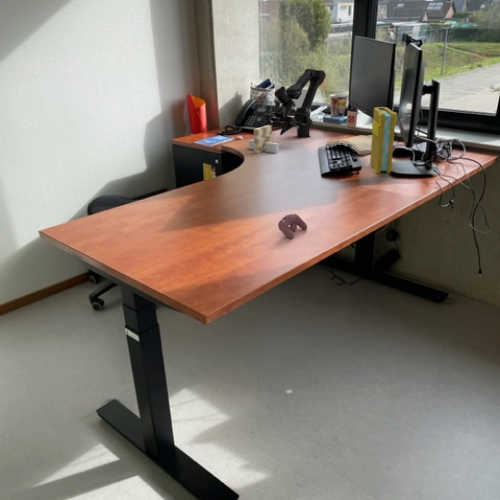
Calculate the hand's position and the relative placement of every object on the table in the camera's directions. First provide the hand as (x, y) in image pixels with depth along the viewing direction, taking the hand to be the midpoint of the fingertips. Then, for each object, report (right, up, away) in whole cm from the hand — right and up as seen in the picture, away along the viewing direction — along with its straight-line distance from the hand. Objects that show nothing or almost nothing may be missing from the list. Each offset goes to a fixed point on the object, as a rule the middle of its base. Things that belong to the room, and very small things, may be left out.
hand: (273, 133), depth 253 cm
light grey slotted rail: (-5, -9, -3) cm, 11 cm away
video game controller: (+1, -56, -99) cm, 114 cm away
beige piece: (+42, -10, -7) cm, 43 cm away
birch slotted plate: (-5, -9, -3) cm, 11 cm away
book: (+46, -25, -39) cm, 65 cm away
